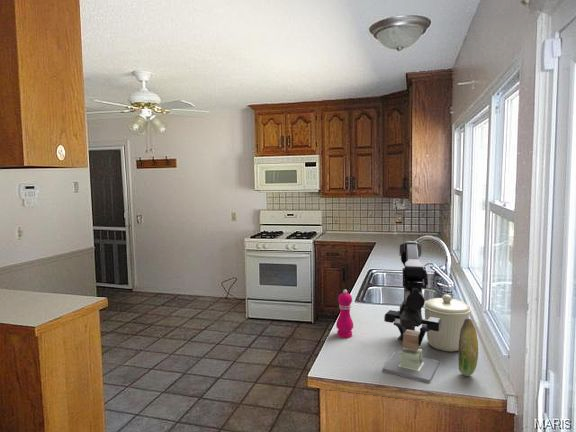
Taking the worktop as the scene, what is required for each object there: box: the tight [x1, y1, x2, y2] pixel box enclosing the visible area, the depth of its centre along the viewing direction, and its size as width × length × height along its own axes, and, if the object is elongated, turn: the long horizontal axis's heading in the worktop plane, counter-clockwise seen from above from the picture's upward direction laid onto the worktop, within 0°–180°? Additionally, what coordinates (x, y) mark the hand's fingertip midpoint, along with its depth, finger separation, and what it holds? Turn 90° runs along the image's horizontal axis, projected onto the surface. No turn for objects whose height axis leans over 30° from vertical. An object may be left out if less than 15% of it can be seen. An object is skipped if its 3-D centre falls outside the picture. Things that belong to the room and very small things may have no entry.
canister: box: [422, 294, 473, 352], centre depth 162 cm, size 18×18×21 cm
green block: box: [401, 348, 423, 370], centre depth 145 cm, size 6×6×5 cm
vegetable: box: [457, 317, 479, 377], centre depth 137 cm, size 6×6×20 cm
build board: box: [381, 351, 441, 384], centre depth 145 cm, size 16×16×1 cm
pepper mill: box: [335, 289, 354, 339], centre depth 173 cm, size 7×7×20 cm
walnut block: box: [402, 329, 422, 350], centre depth 144 cm, size 5×5×5 cm
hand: (411, 343), depth 144 cm, fingers closed on walnut block, 5 cm apart
